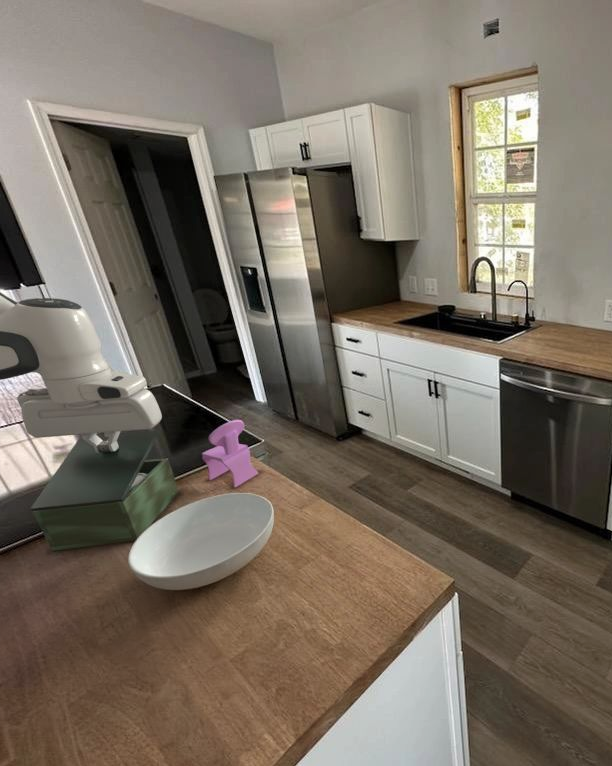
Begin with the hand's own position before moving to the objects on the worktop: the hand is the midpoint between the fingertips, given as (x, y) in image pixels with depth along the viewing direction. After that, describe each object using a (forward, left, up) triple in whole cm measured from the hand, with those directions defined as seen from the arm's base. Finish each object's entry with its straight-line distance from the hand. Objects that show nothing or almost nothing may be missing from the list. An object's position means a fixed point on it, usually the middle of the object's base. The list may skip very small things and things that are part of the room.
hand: (108, 450), depth 82 cm
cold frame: (0, -3, -14) cm, 15 cm away
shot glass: (+2, -2, -14) cm, 14 cm away
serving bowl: (+23, -19, -15) cm, 33 cm away
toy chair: (+16, +9, -15) cm, 24 cm away
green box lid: (0, -3, -2) cm, 4 cm away
